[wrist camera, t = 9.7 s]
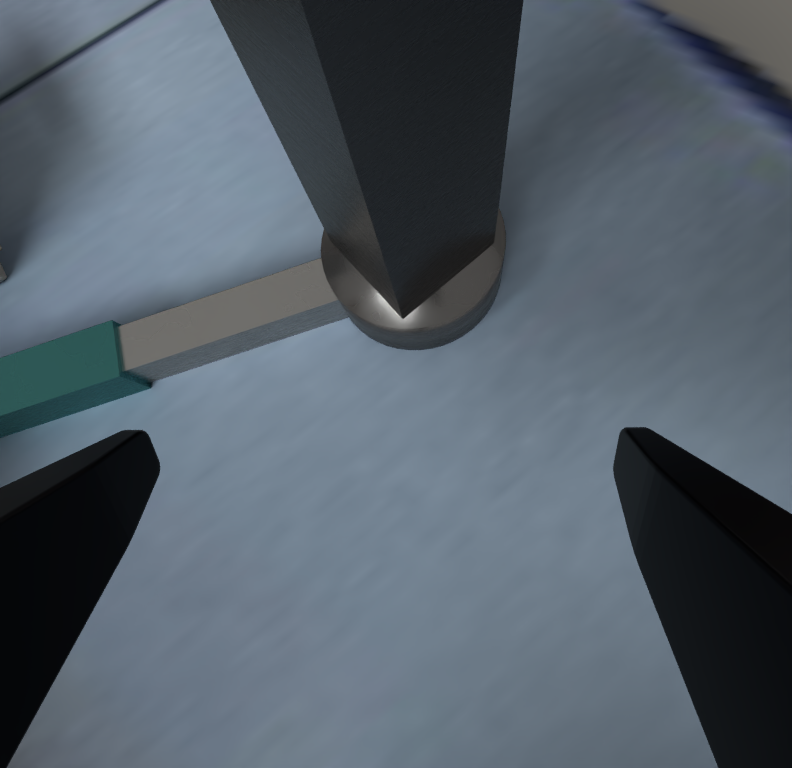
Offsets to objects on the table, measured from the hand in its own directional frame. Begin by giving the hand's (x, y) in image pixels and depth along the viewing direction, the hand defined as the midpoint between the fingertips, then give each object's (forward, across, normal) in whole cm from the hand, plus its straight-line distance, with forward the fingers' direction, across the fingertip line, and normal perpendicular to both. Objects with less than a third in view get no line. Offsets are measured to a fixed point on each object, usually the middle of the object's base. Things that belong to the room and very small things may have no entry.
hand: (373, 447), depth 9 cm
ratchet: (+11, +8, +3) cm, 14 cm away
